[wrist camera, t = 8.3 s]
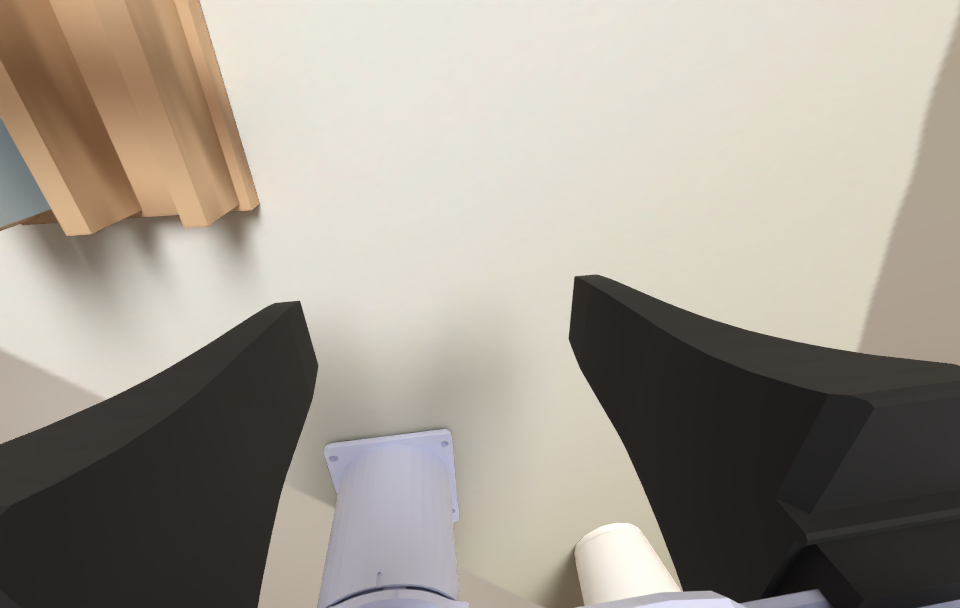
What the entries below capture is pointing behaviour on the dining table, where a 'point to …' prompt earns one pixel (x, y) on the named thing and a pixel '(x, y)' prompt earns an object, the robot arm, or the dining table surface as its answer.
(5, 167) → the pale blue upright slab
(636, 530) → the foam cup
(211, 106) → the rack
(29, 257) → the dining table surface
